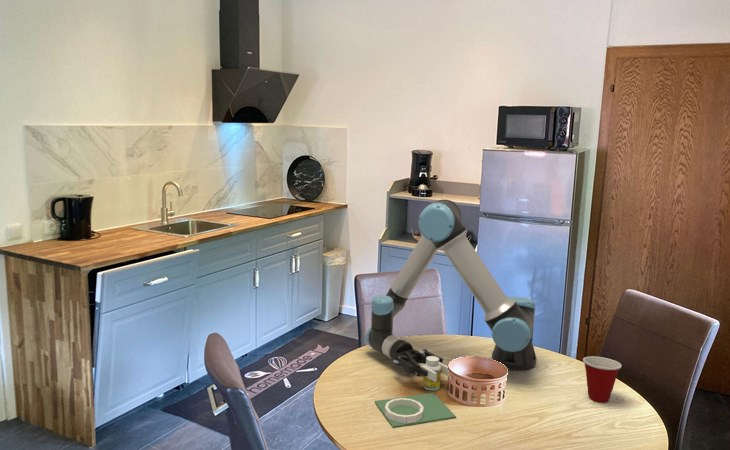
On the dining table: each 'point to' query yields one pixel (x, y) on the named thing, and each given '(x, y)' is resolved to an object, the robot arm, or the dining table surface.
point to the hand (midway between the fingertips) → (443, 375)
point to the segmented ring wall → (404, 418)
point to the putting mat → (431, 411)
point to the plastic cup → (600, 377)
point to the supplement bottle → (434, 365)
